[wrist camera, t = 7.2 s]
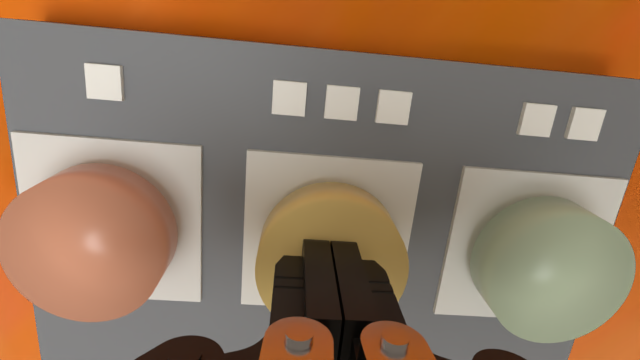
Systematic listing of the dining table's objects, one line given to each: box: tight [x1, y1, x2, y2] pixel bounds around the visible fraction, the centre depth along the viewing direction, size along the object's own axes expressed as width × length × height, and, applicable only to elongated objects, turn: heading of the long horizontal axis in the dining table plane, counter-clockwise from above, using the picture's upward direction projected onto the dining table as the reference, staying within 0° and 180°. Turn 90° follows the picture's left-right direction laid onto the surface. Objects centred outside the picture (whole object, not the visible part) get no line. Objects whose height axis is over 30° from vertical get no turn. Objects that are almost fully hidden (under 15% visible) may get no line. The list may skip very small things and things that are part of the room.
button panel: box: [0, 18, 640, 360], centre depth 15 cm, size 20×12×3 cm, turn 85°
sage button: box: [470, 196, 636, 343], centre depth 13 cm, size 4×4×2 cm
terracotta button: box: [0, 163, 178, 322], centre depth 12 cm, size 4×4×2 cm
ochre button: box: [255, 182, 409, 312], centre depth 13 cm, size 4×4×2 cm
